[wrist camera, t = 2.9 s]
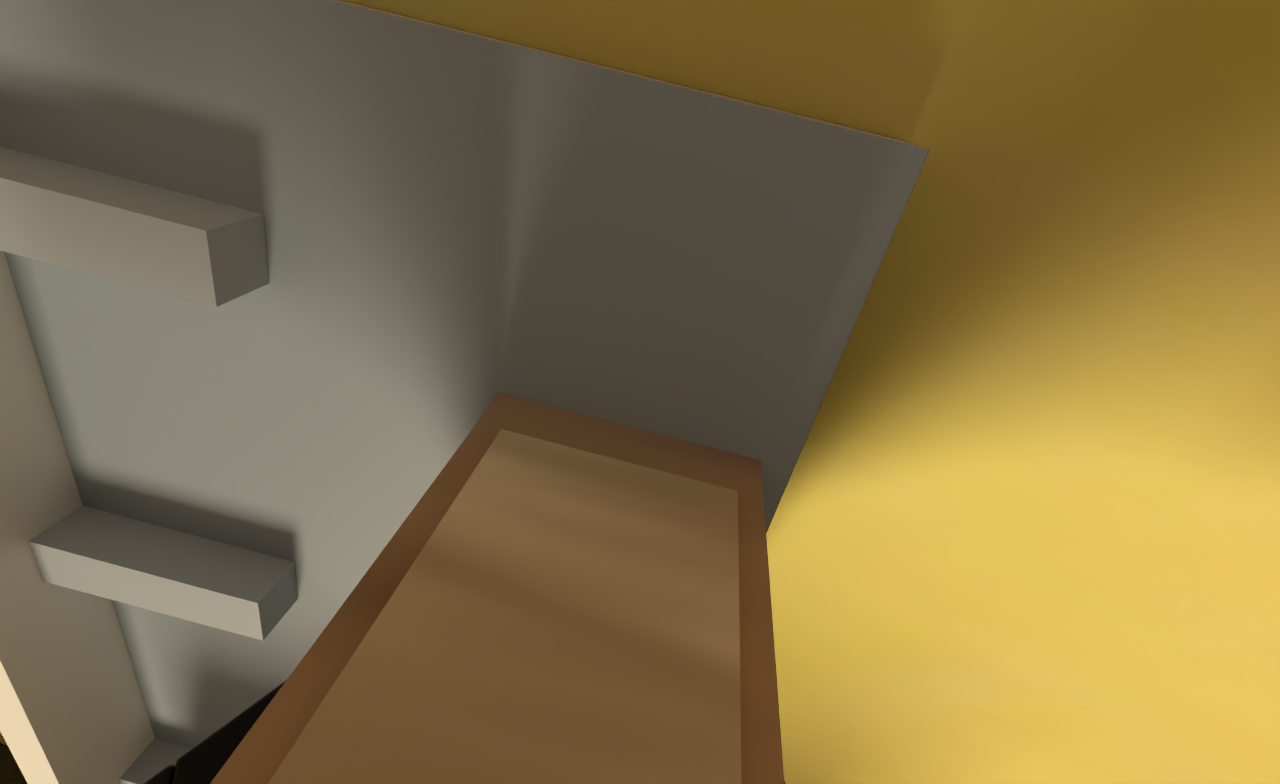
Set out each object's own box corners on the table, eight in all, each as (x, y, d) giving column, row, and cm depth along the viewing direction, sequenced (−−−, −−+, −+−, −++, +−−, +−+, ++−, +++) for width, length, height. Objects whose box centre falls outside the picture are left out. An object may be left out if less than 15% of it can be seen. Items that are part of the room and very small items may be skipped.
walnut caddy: (666, 704, 12) (592, 1395, 6) (469, 650, 12) (182, 1275, 6) (764, 452, 9) (836, 1333, 3) (501, 383, 9) (-30, 1084, 3)
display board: (587, 926, 19) (564, 1064, 16) (193, 817, 19) (107, 936, 16) (905, 141, 8) (998, 177, 5) (-72, -104, 8) (-485, -197, 5)
